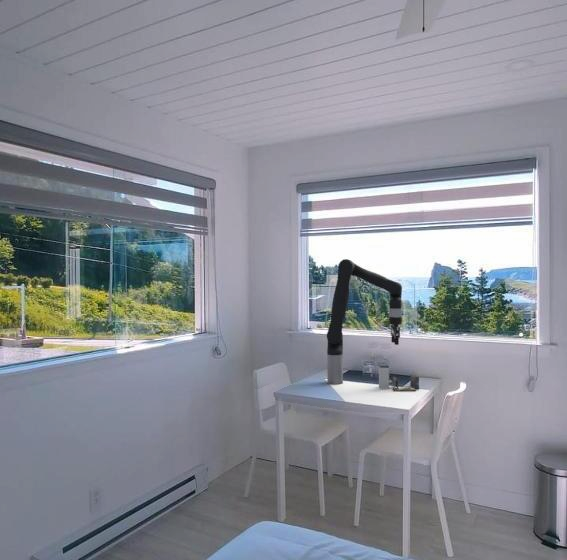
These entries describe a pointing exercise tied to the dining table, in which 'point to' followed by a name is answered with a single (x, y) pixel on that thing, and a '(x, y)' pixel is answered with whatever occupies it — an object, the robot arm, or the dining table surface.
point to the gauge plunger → (395, 382)
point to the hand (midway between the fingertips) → (394, 343)
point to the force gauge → (384, 376)
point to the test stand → (413, 383)
